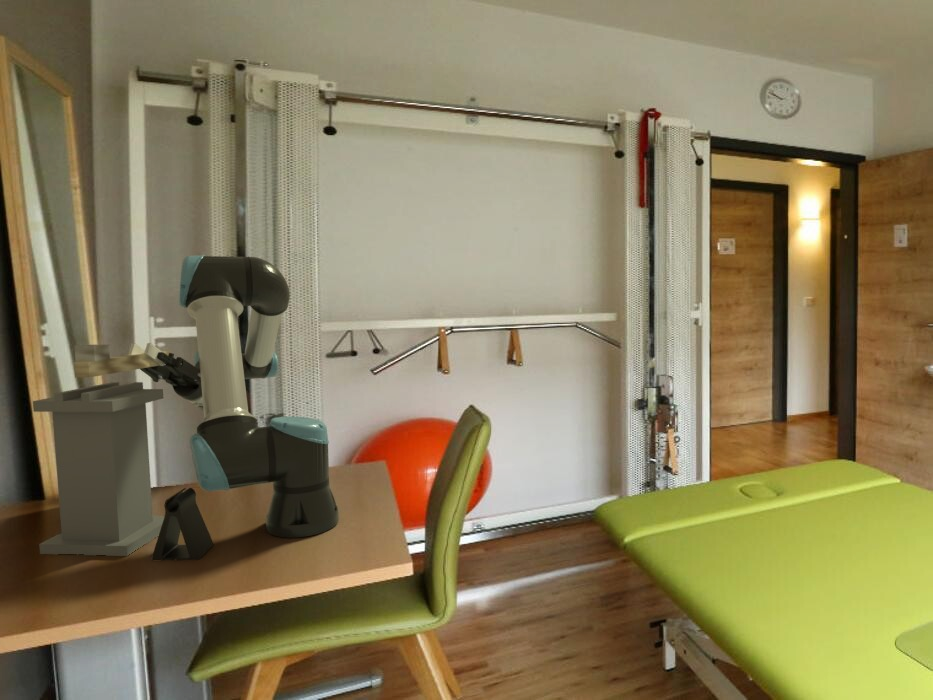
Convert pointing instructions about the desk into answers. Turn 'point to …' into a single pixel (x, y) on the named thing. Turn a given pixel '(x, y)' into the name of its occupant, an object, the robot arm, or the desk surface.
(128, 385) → the stand
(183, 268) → the robot arm
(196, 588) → the desk surface
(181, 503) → the dark triangular holder
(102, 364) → the beam
